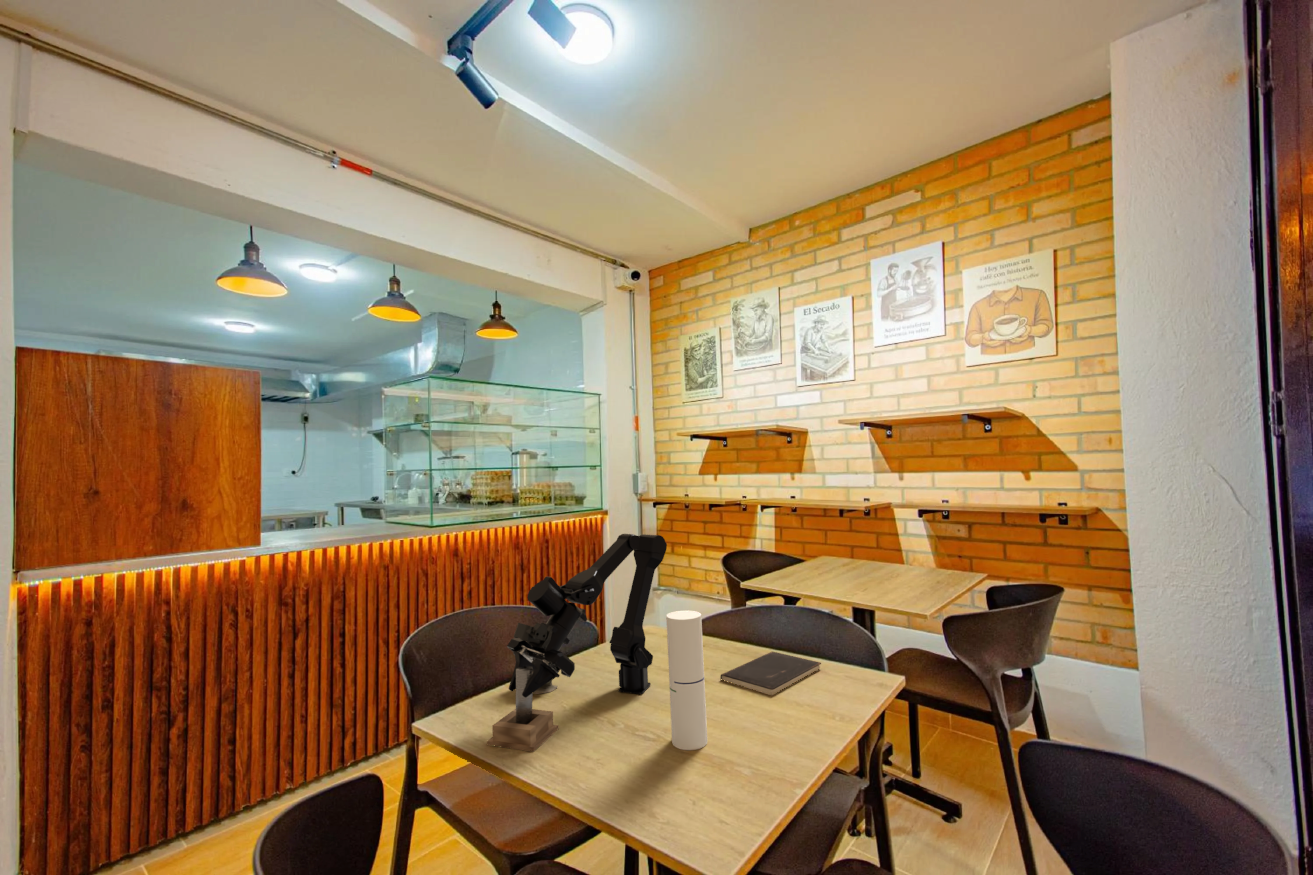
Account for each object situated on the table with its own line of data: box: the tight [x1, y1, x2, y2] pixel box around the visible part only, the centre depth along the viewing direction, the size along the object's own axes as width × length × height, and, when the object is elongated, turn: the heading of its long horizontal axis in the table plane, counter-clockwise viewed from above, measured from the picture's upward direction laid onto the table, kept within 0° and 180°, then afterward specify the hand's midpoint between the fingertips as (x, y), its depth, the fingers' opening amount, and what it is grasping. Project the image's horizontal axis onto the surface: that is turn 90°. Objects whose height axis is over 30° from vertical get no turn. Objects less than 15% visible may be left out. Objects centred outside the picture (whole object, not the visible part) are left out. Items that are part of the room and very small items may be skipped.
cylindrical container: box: [666, 610, 708, 751], centre depth 112 cm, size 7×7×25 cm
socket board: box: [486, 708, 560, 752], centre depth 116 cm, size 11×10×4 cm
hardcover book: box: [719, 651, 822, 696], centre depth 145 cm, size 16×23×2 cm
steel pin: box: [515, 666, 533, 725], centre depth 117 cm, size 3×3×13 cm
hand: (516, 693), depth 116 cm, fingers open, 5 cm apart
